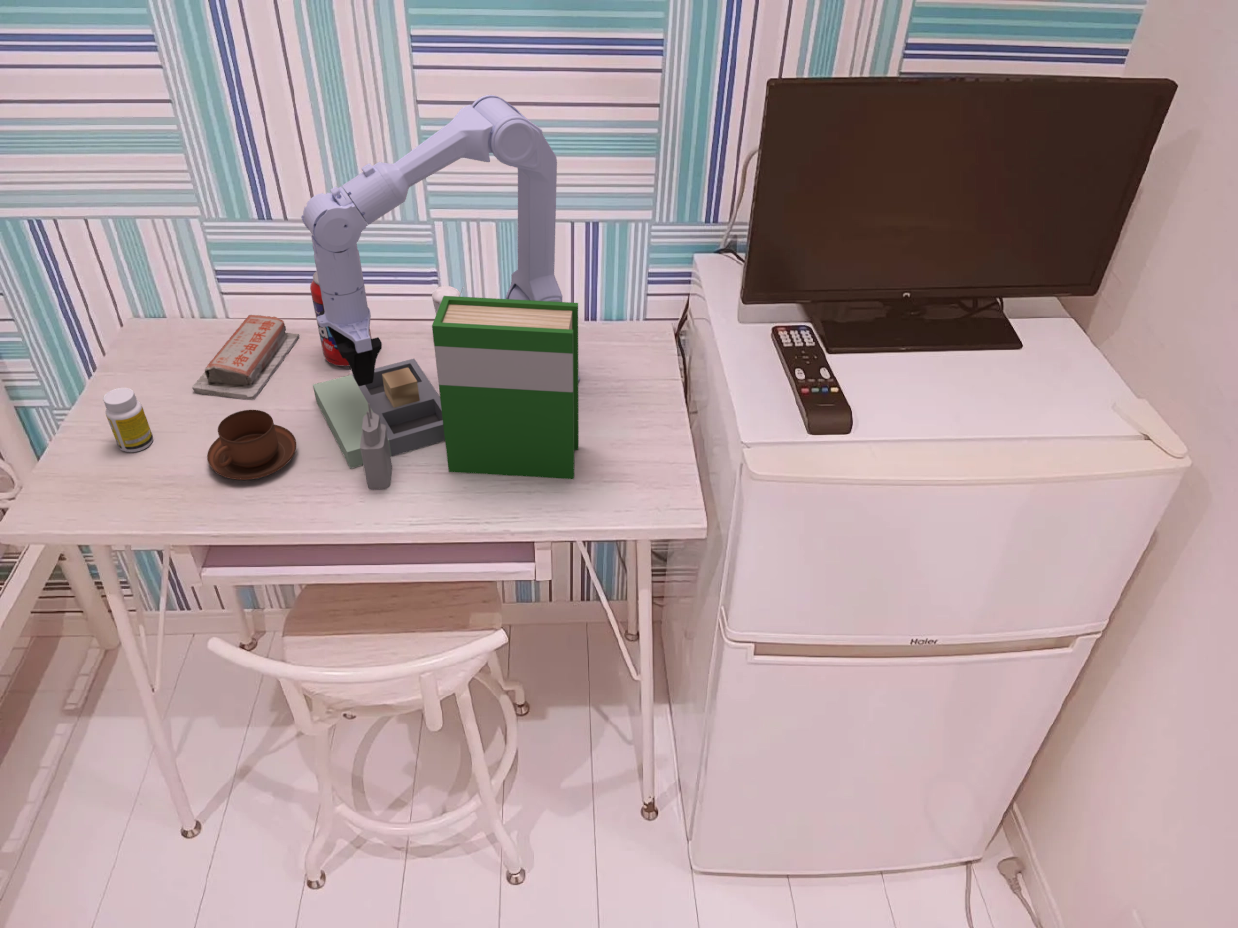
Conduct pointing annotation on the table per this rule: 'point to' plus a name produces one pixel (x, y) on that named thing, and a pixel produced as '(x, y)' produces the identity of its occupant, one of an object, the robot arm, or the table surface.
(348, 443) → the box
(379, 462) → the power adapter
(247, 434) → the cup and saucer
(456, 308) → the hardback book
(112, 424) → the supplement bottle
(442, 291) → the milkshake
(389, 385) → the maple block
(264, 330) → the packaged product
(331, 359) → the soda can
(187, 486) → the table surface
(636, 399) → the table surface
